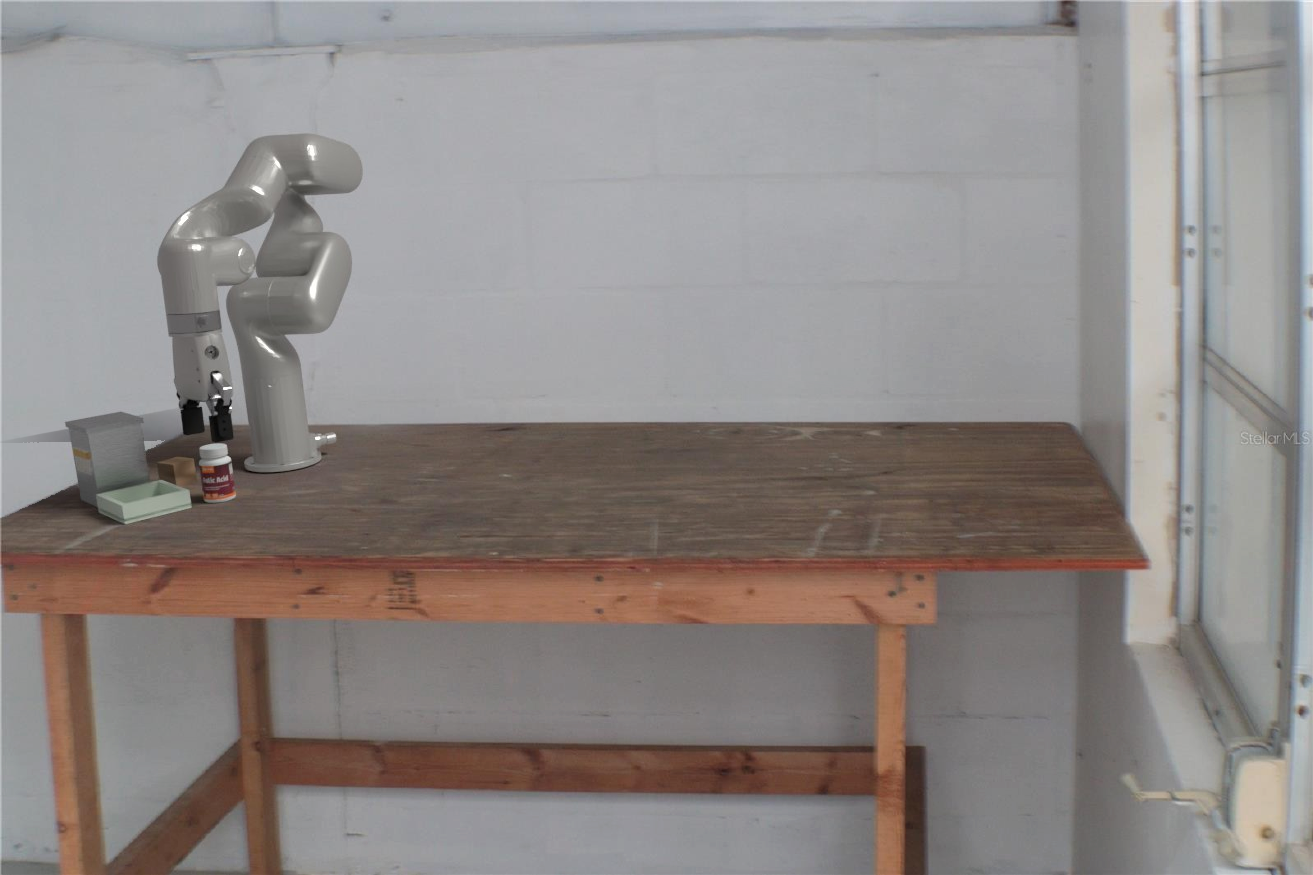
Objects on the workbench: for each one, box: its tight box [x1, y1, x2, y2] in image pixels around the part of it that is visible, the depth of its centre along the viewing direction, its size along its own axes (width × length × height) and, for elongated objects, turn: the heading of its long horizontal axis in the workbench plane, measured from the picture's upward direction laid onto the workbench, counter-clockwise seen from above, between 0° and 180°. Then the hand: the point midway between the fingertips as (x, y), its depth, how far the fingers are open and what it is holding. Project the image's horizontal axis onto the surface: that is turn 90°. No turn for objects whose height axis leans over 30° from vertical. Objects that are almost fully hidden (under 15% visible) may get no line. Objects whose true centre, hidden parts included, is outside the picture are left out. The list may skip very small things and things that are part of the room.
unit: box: [64, 411, 151, 508], centre depth 189 cm, size 9×9×13 cm
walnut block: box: [156, 456, 198, 488], centre depth 197 cm, size 4×4×4 cm
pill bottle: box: [198, 442, 237, 504], centre depth 186 cm, size 5×5×8 cm
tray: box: [96, 479, 193, 525], centre depth 183 cm, size 10×10×3 cm
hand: (208, 437), depth 184 cm, fingers open, 9 cm apart
